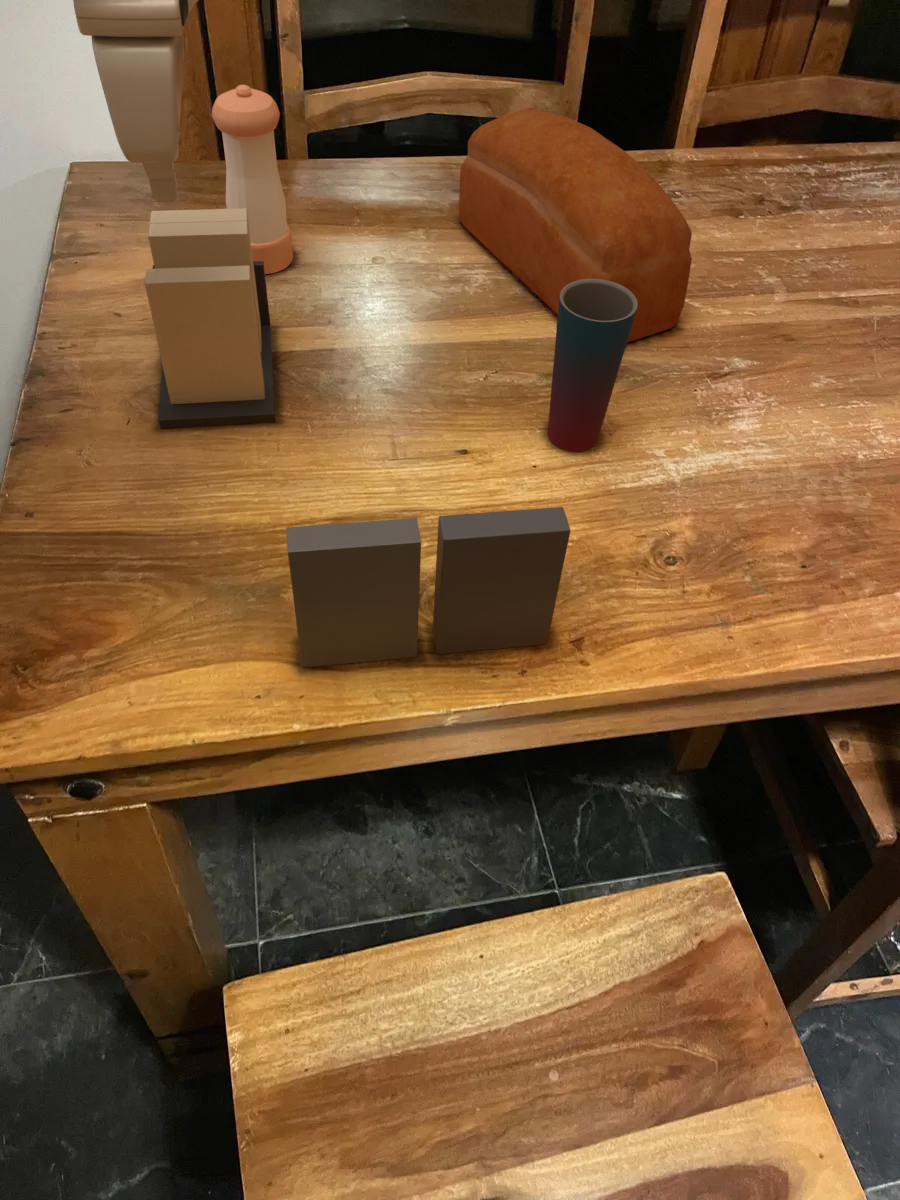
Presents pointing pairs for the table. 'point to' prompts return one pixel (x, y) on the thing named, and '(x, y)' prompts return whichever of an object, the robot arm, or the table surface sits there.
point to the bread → (575, 214)
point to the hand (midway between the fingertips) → (168, 169)
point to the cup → (587, 359)
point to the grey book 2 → (497, 578)
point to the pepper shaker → (255, 171)
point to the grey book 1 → (355, 590)
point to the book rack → (214, 245)
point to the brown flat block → (206, 333)
